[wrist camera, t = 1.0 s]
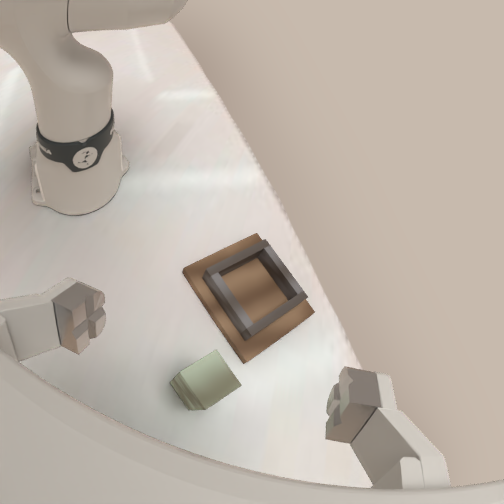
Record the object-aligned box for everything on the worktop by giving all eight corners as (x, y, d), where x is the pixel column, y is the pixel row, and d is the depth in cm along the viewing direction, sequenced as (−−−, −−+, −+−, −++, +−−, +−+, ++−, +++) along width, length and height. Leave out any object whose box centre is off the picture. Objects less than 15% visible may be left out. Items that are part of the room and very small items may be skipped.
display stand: (182, 272, 46) (186, 258, 42) (253, 237, 53) (263, 222, 49) (243, 363, 42) (254, 358, 38) (310, 315, 49) (324, 305, 46)
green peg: (169, 382, 37) (179, 371, 27) (196, 366, 40) (216, 349, 30) (188, 410, 36) (205, 409, 26) (215, 393, 39) (241, 385, 29)
